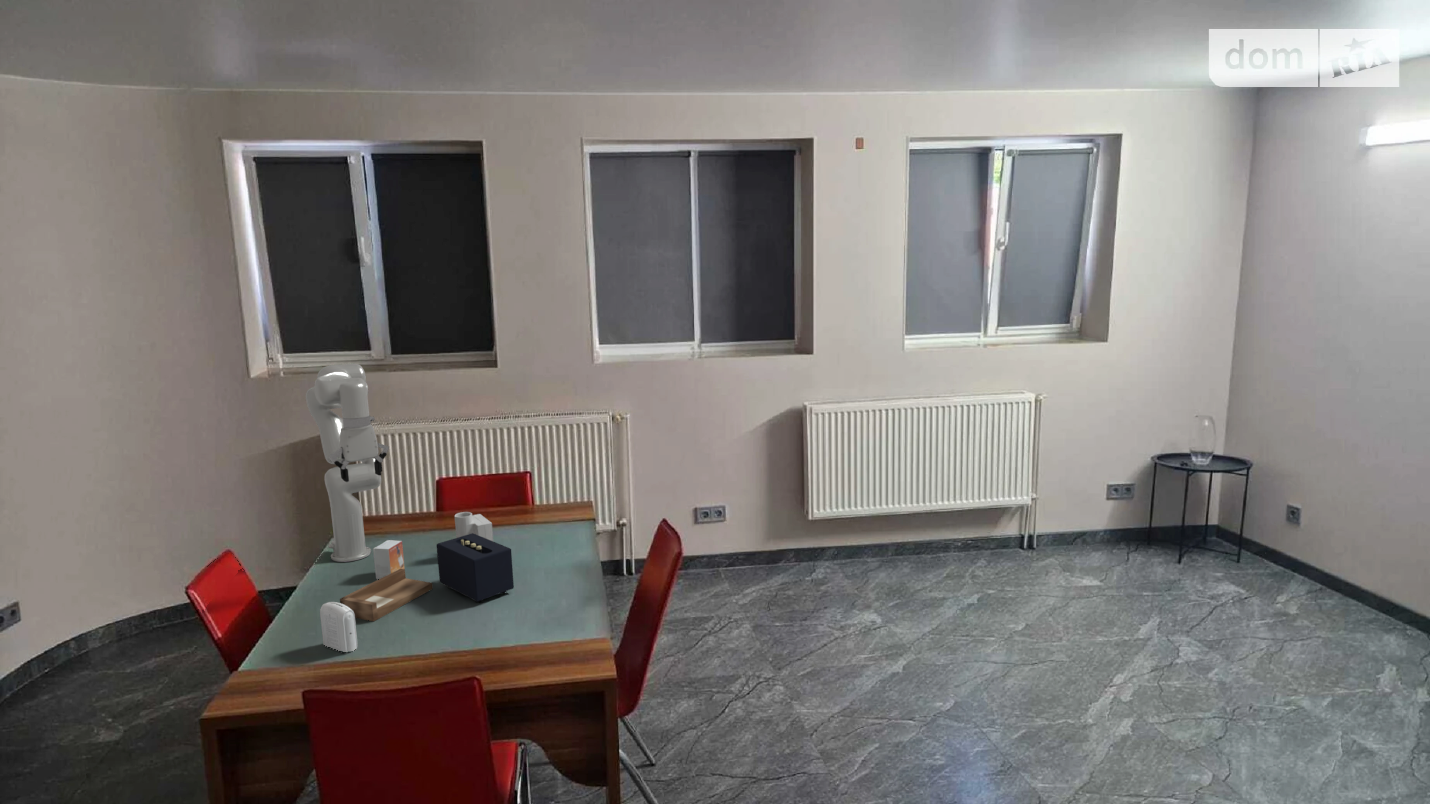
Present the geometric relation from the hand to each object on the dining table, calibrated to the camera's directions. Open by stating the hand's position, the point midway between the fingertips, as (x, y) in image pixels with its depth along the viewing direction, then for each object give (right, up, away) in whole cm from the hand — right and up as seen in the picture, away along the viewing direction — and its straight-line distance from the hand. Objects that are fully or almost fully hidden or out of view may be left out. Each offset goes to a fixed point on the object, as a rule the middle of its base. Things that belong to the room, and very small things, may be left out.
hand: (362, 477), depth 251 cm
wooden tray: (+10, -36, -5) cm, 38 cm away
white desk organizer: (+23, -30, +30) cm, 48 cm away
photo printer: (+9, -42, -33) cm, 54 cm away
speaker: (+34, -35, +2) cm, 49 cm away
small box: (+3, -33, +15) cm, 36 cm away
